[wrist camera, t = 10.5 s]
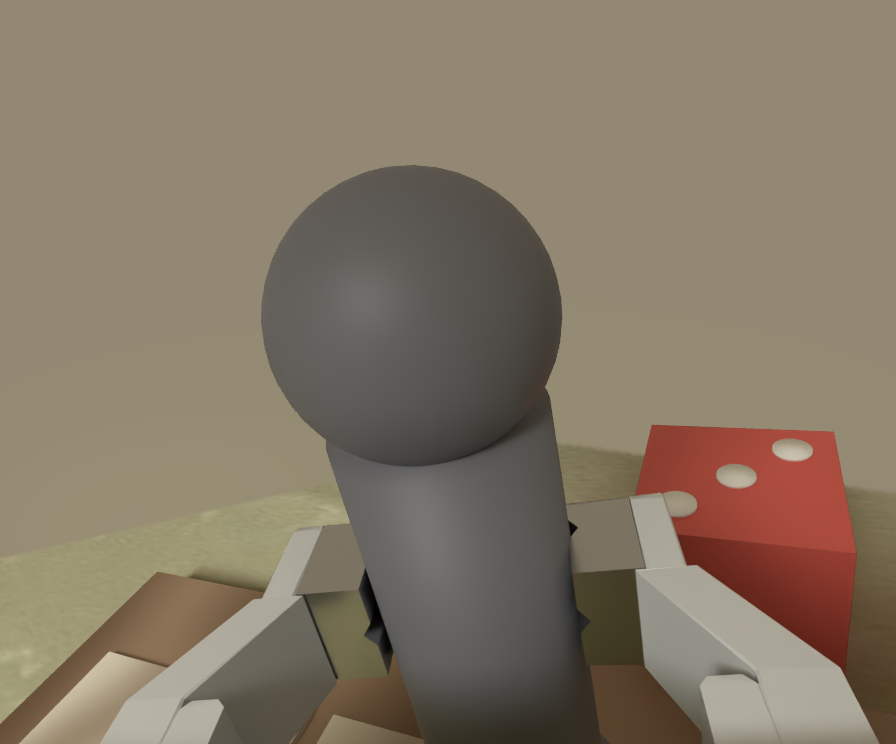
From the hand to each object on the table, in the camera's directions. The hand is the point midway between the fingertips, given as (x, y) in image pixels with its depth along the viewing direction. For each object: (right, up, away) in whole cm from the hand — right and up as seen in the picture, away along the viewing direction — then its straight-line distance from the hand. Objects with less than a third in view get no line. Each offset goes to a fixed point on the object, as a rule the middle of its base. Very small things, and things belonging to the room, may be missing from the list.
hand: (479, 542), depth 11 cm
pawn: (+1, -6, +2) cm, 7 cm away
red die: (+8, -5, +9) cm, 13 cm away
